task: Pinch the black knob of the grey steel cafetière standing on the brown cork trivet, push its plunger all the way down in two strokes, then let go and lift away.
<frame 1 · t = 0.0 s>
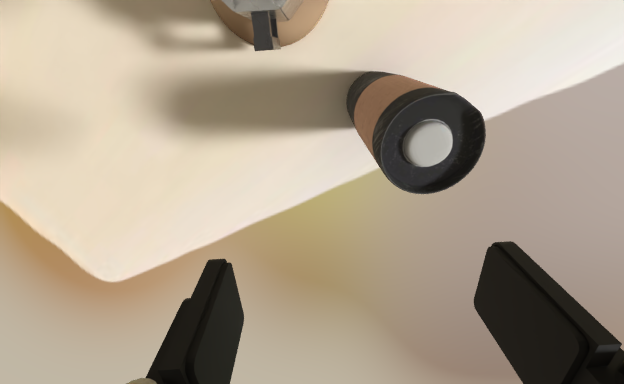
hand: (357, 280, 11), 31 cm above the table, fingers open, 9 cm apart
travel mug: (372, 100, 38), on the table
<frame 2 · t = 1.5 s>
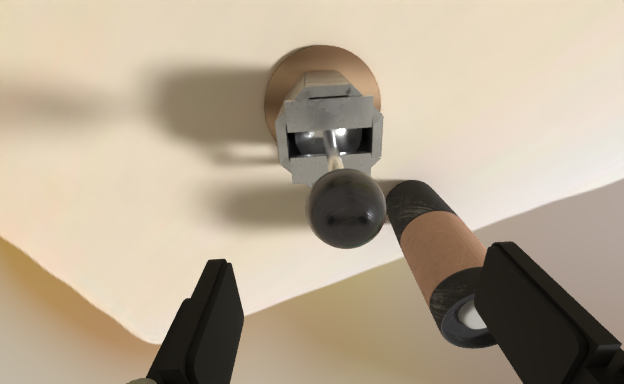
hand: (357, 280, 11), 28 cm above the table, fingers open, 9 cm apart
grey slotted housing: (322, 110, 35), resting on trivet
plunger: (335, 165, 19), point 18 cm above the table, slide at 0.0 cm
travel mug: (409, 201, 42), on the table
trivet: (322, 109, 35), on the table
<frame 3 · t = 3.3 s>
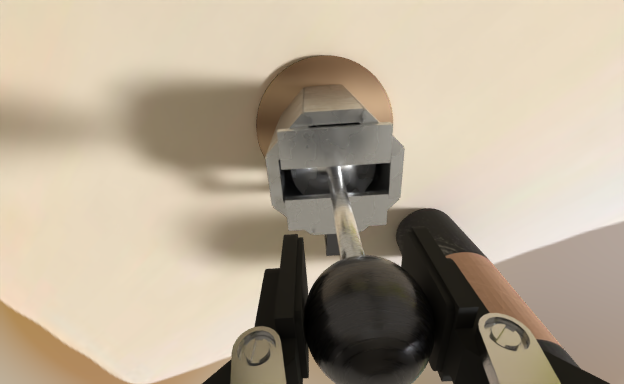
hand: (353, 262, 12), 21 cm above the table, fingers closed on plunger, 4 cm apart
grey slotted housing: (324, 130, 30), resting on trivet
plunger: (345, 222, 14), point 18 cm above the table, slide at 0.0 cm, touching gripper
travel mug: (423, 231, 37), on the table
trivet: (324, 129, 30), on the table
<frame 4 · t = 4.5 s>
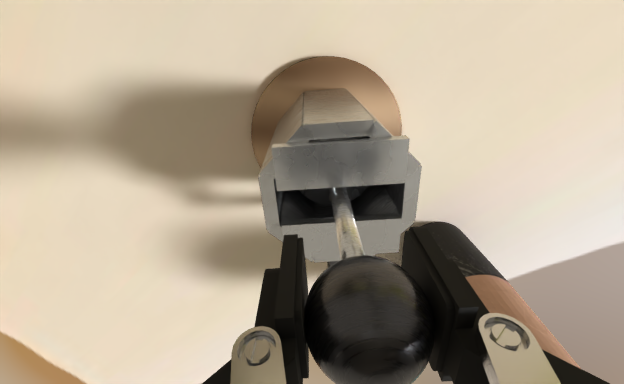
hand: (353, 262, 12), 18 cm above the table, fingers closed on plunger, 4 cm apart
grey slotted housing: (326, 138, 27), resting on trivet
plunger: (345, 222, 14), point 15 cm above the table, slide at 3.0 cm, touching gripper
travel mug: (432, 246, 34), on the table
trivet: (326, 137, 28), on the table
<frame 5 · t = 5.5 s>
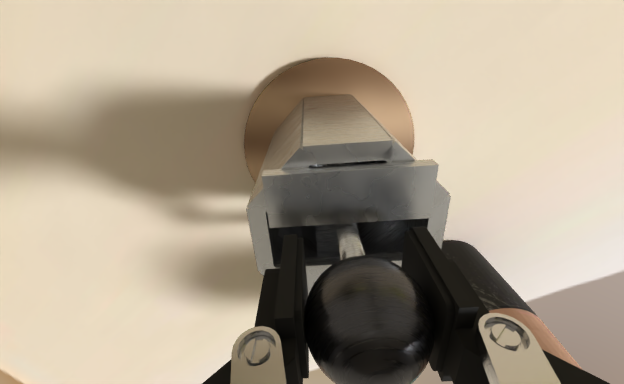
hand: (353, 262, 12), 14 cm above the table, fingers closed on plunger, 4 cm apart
grey slotted housing: (329, 150, 24), resting on trivet
plunger: (345, 222, 14), point 11 cm above the table, slide at 6.5 cm, touching gripper
travel mug: (445, 266, 31), on the table
trivet: (328, 148, 24), on the table
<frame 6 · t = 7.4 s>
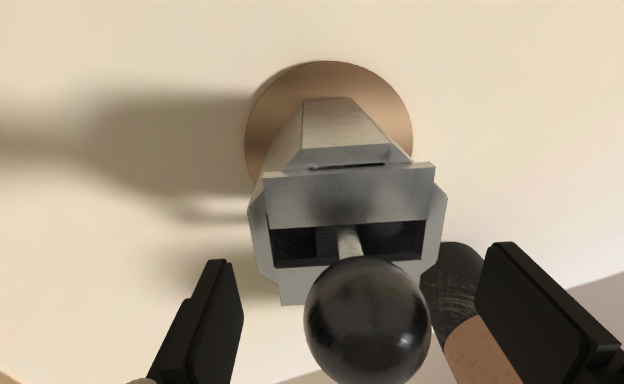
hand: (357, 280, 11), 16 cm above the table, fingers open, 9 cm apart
grey slotted housing: (328, 153, 24), resting on trivet
plunger: (344, 223, 14), point 11 cm above the table, slide at 6.5 cm
travel mug: (444, 267, 31), on the table
trivet: (328, 150, 25), on the table
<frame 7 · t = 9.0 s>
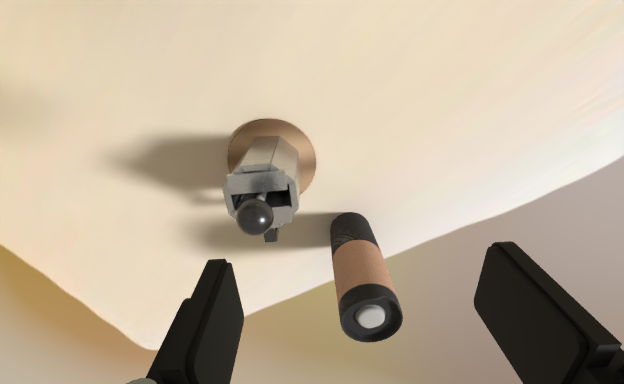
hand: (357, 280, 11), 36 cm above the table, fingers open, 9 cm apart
grey slotted housing: (272, 163, 46), resting on trivet
plunger: (262, 193, 36), point 11 cm above the table, slide at 6.5 cm
travel mug: (349, 228, 52), on the table
trivet: (272, 162, 46), on the table
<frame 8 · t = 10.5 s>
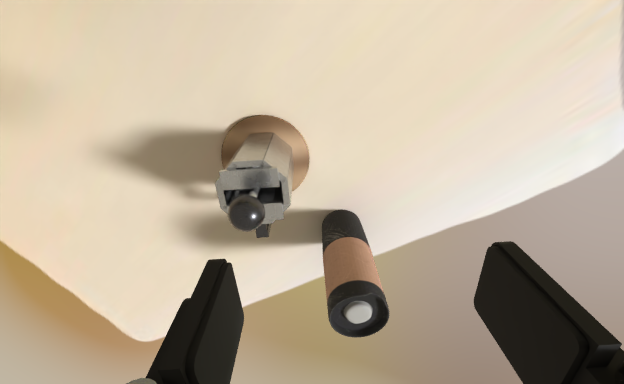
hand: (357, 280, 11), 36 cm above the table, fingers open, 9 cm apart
grey slotted housing: (265, 160, 46), resting on trivet
plunger: (254, 190, 37), point 11 cm above the table, slide at 6.5 cm
travel mug: (341, 225, 53), on the table
trivet: (266, 158, 47), on the table
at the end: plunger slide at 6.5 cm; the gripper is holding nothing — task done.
